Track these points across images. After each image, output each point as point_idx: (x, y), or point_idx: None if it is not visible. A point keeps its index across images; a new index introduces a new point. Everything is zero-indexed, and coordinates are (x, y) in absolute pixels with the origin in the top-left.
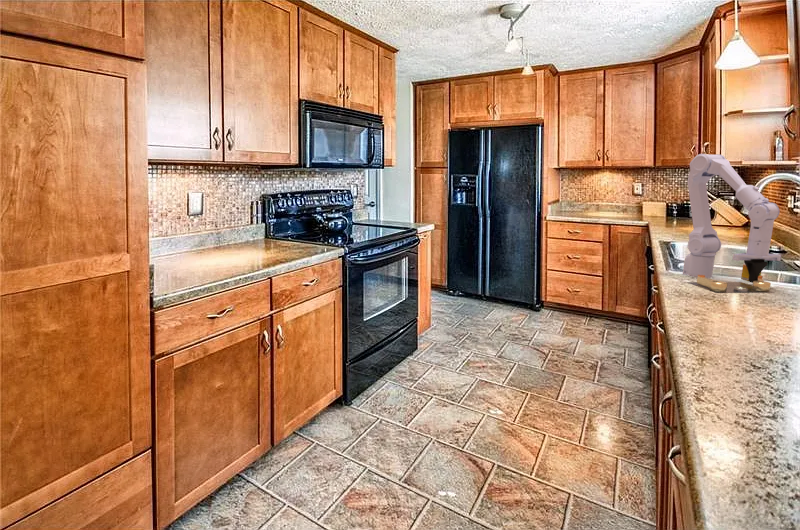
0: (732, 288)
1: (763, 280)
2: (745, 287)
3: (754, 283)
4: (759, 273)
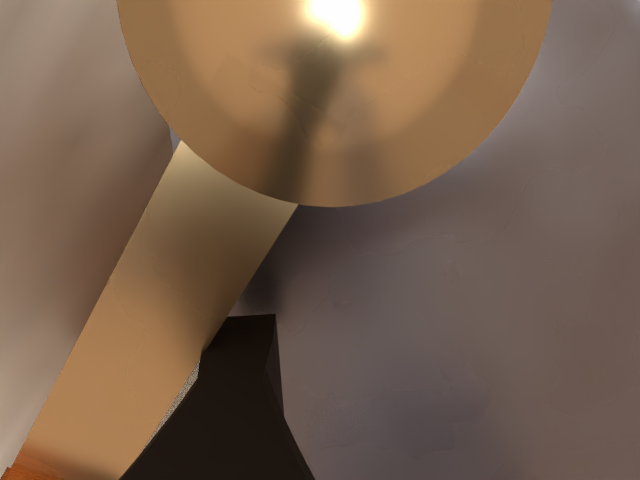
0: None
1: (134, 235)
2: (429, 240)
3: (532, 16)
4: (160, 452)
